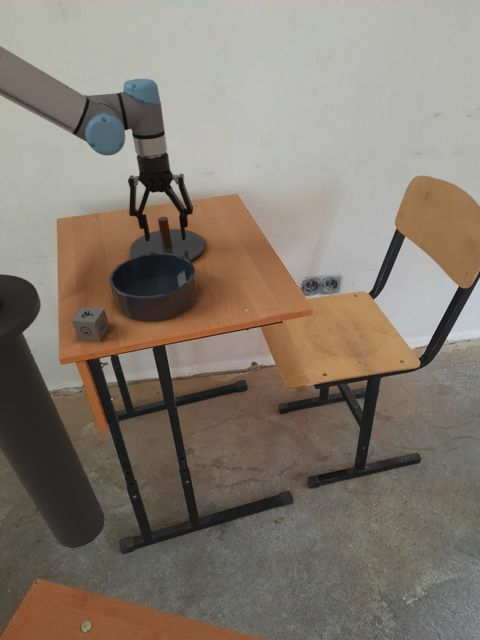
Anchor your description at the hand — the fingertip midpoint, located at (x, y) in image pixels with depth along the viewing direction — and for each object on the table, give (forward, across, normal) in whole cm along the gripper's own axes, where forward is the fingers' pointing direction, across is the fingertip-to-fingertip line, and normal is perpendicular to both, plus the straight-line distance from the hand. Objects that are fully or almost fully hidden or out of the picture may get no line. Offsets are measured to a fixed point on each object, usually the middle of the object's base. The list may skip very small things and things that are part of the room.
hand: (166, 238), depth 128 cm
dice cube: (+4, +12, +36) cm, 38 cm away
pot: (+3, 0, +23) cm, 23 cm away
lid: (+3, 0, 0) cm, 3 cm away
